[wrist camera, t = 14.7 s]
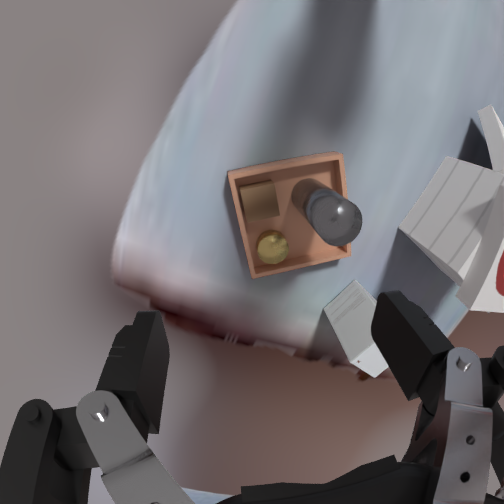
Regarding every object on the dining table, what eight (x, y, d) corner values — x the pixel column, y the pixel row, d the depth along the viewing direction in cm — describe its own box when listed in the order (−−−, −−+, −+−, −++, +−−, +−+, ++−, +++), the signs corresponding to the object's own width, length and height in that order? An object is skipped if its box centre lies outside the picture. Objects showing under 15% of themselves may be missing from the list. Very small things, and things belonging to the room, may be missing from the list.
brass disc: (258, 227, 37) (260, 233, 36) (288, 231, 38) (291, 237, 36) (253, 255, 39) (255, 262, 37) (282, 258, 40) (285, 265, 38)
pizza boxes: (510, 165, 37) (576, 192, 21) (437, 282, 46) (494, 339, 30) (468, 92, 31) (552, 101, 15) (380, 230, 40) (455, 293, 24)
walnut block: (239, 186, 35) (240, 190, 33) (270, 179, 35) (274, 183, 33) (245, 216, 37) (247, 222, 34) (276, 209, 37) (280, 215, 34)
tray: (227, 171, 35) (227, 175, 32) (333, 151, 35) (342, 154, 32) (249, 268, 41) (251, 279, 38) (343, 247, 41) (351, 255, 38)
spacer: (288, 181, 35) (315, 205, 25) (323, 175, 35) (360, 196, 25) (294, 215, 37) (320, 250, 27) (327, 208, 37) (363, 241, 27)
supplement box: (346, 328, 48) (373, 379, 37) (321, 308, 45) (348, 363, 34) (377, 300, 46) (412, 348, 35) (355, 277, 44) (392, 326, 32)
